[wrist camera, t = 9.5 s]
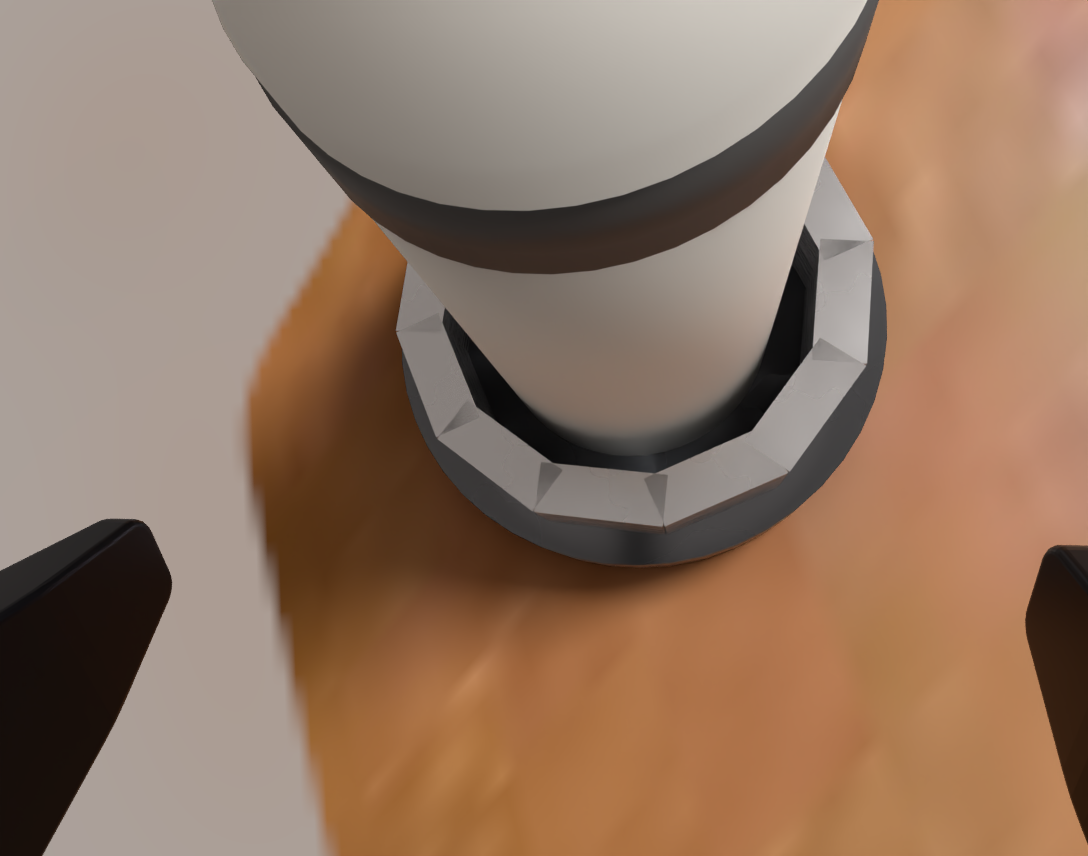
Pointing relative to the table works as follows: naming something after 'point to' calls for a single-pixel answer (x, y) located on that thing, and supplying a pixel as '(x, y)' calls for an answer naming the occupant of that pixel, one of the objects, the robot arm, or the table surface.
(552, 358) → the white domed cylinder
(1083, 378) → the table surface
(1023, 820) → the table surface
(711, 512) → the mount
